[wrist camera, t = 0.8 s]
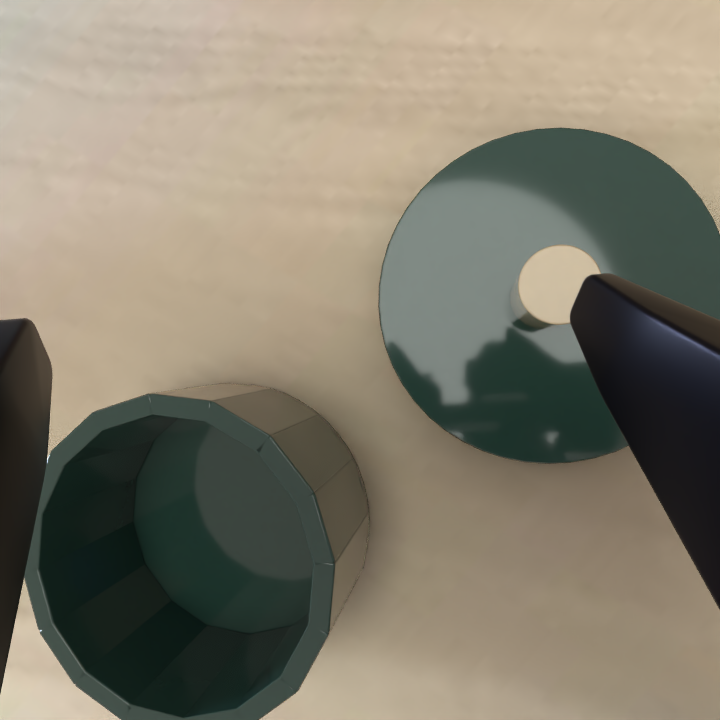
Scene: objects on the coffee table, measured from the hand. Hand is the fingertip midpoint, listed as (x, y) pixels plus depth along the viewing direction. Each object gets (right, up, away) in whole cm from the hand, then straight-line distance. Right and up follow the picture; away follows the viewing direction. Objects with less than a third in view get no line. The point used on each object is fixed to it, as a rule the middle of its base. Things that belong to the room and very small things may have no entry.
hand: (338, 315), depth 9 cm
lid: (+8, +2, +14) cm, 16 cm away
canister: (-5, -8, +17) cm, 20 cm away
